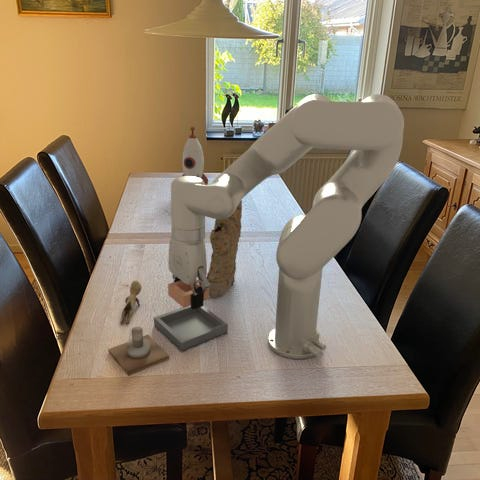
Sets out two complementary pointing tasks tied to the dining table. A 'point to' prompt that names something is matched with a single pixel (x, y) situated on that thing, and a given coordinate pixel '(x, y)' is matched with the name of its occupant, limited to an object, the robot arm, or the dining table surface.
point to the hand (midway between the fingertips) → (188, 299)
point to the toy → (193, 158)
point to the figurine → (131, 301)
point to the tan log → (224, 253)
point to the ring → (183, 293)
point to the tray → (190, 327)
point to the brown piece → (138, 353)
